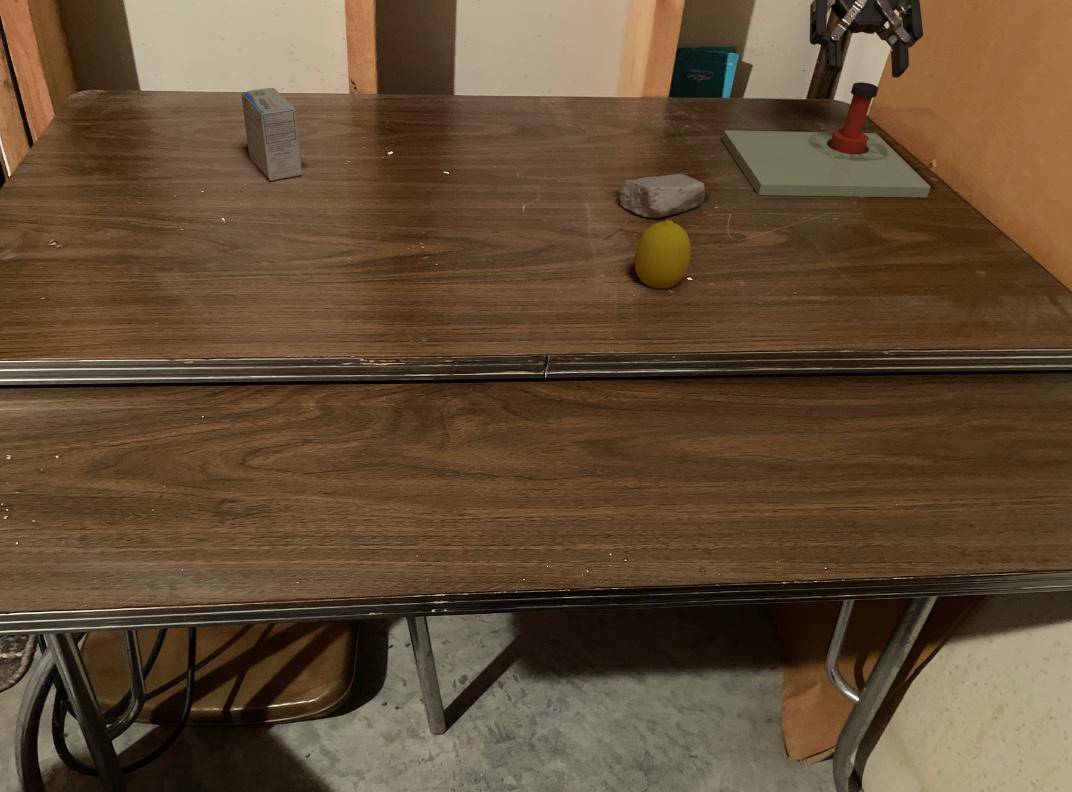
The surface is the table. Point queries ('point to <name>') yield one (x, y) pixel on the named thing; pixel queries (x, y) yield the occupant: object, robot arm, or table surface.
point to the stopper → (854, 121)
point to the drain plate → (821, 166)
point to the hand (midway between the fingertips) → (867, 73)
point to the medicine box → (272, 133)
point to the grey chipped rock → (662, 195)
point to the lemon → (662, 255)
